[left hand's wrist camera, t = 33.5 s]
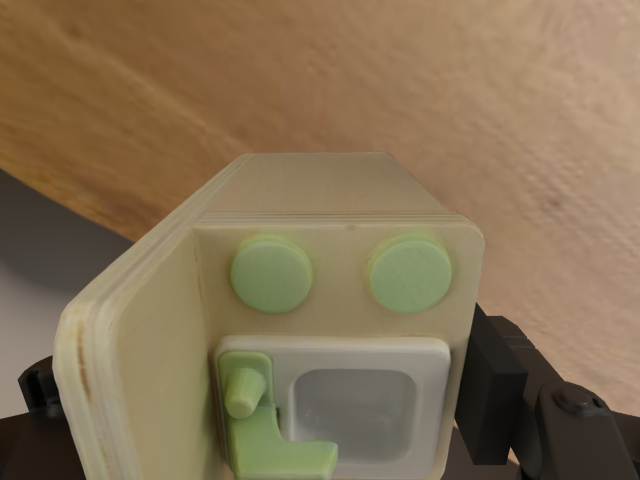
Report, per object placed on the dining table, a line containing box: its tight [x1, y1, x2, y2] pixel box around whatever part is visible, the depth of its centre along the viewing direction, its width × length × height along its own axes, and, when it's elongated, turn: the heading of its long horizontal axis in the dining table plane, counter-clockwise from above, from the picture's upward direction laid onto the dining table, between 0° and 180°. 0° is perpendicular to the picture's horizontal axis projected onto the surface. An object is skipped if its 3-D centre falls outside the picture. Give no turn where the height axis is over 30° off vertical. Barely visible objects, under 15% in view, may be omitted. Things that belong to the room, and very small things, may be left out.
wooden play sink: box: [52, 152, 485, 480], centre depth 12 cm, size 8×7×13 cm
